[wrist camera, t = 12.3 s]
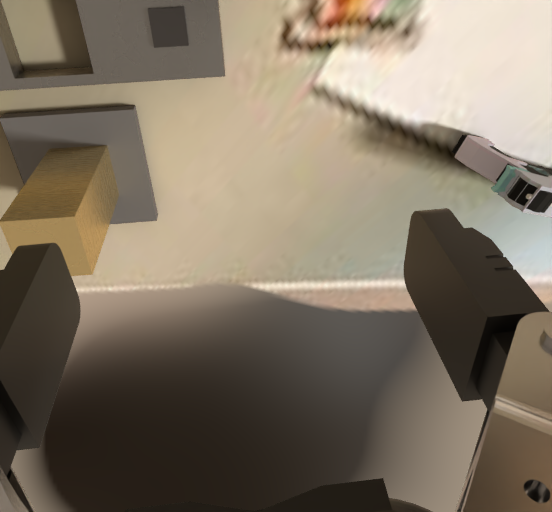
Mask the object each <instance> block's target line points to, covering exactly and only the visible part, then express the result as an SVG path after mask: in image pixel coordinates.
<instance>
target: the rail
mask: <svg viewBox="0 0 552 512" xmlns="http://www.w3.org/2000/svg"><path fill="white" fill-rule="evenodd" d="M76 4H77V8H78V12H79V16H80V20H81V24H82V28H83V32H84V36H85V40H86V44H87V48H88V52H89V56H90V60H91V64H92V67H79V68H63V69H47V70H31V71H24V70H23V67H22V64H21V61H20V58H19V55H18V52H17V49H16V46H15V43H14V40H13V37H12V34H11V31H10V28H9V25H8V22H7V19H6V16H5V13H4V10H3V6H2V3H1V0H0V91H3V90H19V89H34V88H50V87H66V86H81V85H97V84H112V83H128V82H143V81H159V80H174V79H190V78H205V77H221V76H225V65H224V55H223V44H222V33H221V23H220V12H219V2H218V0H76Z"/></svg>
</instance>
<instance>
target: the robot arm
mask: <svg viewBox="0 0 552 512" xmlns="http://www.w3.org/2000/svg"><path fill="white" fill-rule="evenodd" d="M404 279H405V284H406V287H407V290H408V292H409V294H410V296H411V299H412V301H413V303H414V305H415V307H416V309H417V311H418V313H419V315H420V317H421V319H422V321H423V323H424V325H425V327H426V329H427V331H428V333H429V335H430V337H431V338H432V341H433V343H434V345H435V347H436V349H437V351H438V353H439V356H440V357H441V360H442V362H443V364H444V366H445V368H446V370H447V372H448V374H449V376H450V378H451V380H452V382H453V384H454V386H455V388H456V390H457V392H458V394H459V396H460V398H461V400H462V401H470V400H479V399H483V402H484V404H485V405H486V407H487V412H486V415H485V417H484V421H483V424H482V427H481V430H480V433H479V437H478V440H477V443H476V446H475V450H474V453H473V456H472V459H471V462H470V466H469V469H468V472H467V475H466V479H465V482H464V485H463V488H462V492H461V494H460V497H459V500H458V503H457V506H456V510H455V512H552V312H549V310H548V309H547V308H546V307H545V305H544V304H543V303H542V302H541V300H540V299H539V298H538V297H537V295H536V294H535V293H534V292H533V291H532V289H531V288H530V287H529V286H528V284H527V283H526V282H525V281H524V279H523V278H522V277H521V276H520V274H519V273H518V272H517V271H516V270H513V266H512V265H511V263H510V262H509V261H508V260H507V258H506V257H503V253H502V252H501V251H500V250H499V248H498V247H497V246H496V245H495V244H494V242H493V241H492V240H491V239H490V238H488V237H486V236H485V235H483V234H482V233H480V232H478V231H477V230H475V229H474V228H463V226H462V225H461V224H460V222H459V221H458V220H457V218H456V217H455V216H454V214H453V213H452V212H451V211H450V210H449V209H447V208H445V209H434V210H423V211H415V212H414V213H413V214H412V216H411V221H410V227H409V234H408V241H407V247H406V254H405V261H404ZM79 320H80V302H79V297H78V294H77V291H76V288H75V286H74V283H73V280H72V278H71V275H70V272H69V269H68V267H67V264H66V261H65V259H64V256H63V253H62V251H61V249H60V247H59V246H58V245H57V244H56V243H44V244H33V245H22V246H18V247H17V248H16V249H15V251H14V253H13V254H12V256H11V258H10V260H9V261H8V263H7V265H6V267H5V269H4V270H0V512H35V509H34V508H33V506H32V504H31V502H30V500H29V498H28V497H27V495H26V493H25V491H24V489H23V487H22V485H21V483H20V481H19V479H18V477H17V475H16V474H15V472H14V470H13V469H12V468H11V464H12V461H13V458H14V456H15V453H16V450H23V449H32V448H39V447H40V444H41V441H42V438H43V435H44V431H45V428H46V425H47V422H48V419H49V416H50V413H51V410H52V406H53V403H54V400H55V397H56V394H57V390H58V387H59V384H60V381H61V378H62V375H63V372H64V368H65V365H66V362H67V359H68V356H69V352H70V349H71V346H72V343H73V340H74V337H75V334H76V330H77V327H78V324H79ZM125 512H432V511H430V510H428V509H425V508H423V507H420V506H418V505H416V504H413V503H409V502H406V501H402V500H398V499H392V498H389V497H388V494H387V491H386V487H385V483H384V481H383V478H382V479H373V480H366V481H357V482H349V483H340V484H332V485H324V486H320V487H317V488H315V489H312V490H310V491H307V492H305V493H302V494H300V495H298V496H295V497H292V498H290V499H288V500H285V501H283V502H280V503H277V504H275V505H273V506H270V507H268V508H265V509H262V510H257V511H250V510H243V509H237V508H229V507H223V506H216V505H209V504H202V503H195V502H184V503H176V504H168V505H160V506H151V507H143V508H135V509H127V510H125Z"/></svg>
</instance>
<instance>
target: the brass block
mask: <svg viewBox="0 0 552 512" xmlns="http://www.w3.org/2000/svg"><path fill="white" fill-rule="evenodd" d="M118 197H119V192H118V188H117V184H116V180H115V175H114V171H113V167H112V163H111V159H110V155H109V150H108V146H107V145H103V146H86V147H70V148H53V149H49V150H48V151H47V153H46V154H45V156H44V157H43V159H42V160H41V162H40V163H39V164H38V166H37V167H36V169H35V170H34V172H33V173H32V175H31V176H30V178H29V179H28V180H27V182H26V183H25V185H24V186H23V188H22V189H21V191H20V192H19V194H18V195H17V196H16V198H15V199H14V201H13V202H12V204H11V205H10V207H9V208H8V209H7V211H6V212H5V214H4V215H3V217H2V218H1V220H0V226H1V228H2V230H3V233H4V235H5V237H6V240H7V242H8V245H9V247H10V249H11V252H12V254H13V253H14V251H15V249H16V248H17V247H18V246H22V245H33V244H44V243H56V244H57V245H58V246H59V247H60V249H61V251H62V253H63V256H64V259H65V261H66V264H67V267H68V269H69V272H70V275H71V276H78V275H91V274H93V271H94V268H95V265H96V262H97V259H98V256H99V253H100V251H101V248H102V245H103V242H104V239H105V236H106V233H107V230H108V227H109V224H110V221H111V218H112V215H113V212H114V209H115V206H116V203H117V200H118Z"/></svg>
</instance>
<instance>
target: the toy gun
mask: <svg viewBox="0 0 552 512" xmlns="http://www.w3.org/2000/svg"><path fill="white" fill-rule="evenodd" d="M493 146H494V144H493V143H492V142H491V141H489V140H488V139H485V138H481V137H477V136H472V135H462V137H461V138H460V140H459V141H458V143H457V144H456V146H455V148H454V149H453V151H452V152H453V153H455V154H456V155H455V156H454V157H455V158H456V159H457V160H459V161H460V162H462V163H463V164H465V165H466V166H467V167H469V168H471V169H472V170H474V171H476V172H477V173H479V174H481V175H482V176H484V177H486V178H487V179H489V180H491V181H492V182H494V183H496V184H495V186H493V187H491V189H492V190H493V191H494V192H497V193H498V195H500V196H501V197H503V198H504V199H505V200H506V201H507V202H508V203H509V204H511V205H512V206H514V207H516V208H518V209H520V210H521V211H522V212H524V213H530V214H535V215H540V216H546V217H551V218H552V170H550V169H547V168H546V169H545V168H544V167H542V166H534V165H530V164H527V163H525V162H523V161H520V160H516V159H513V158H511V157H509V156H508V155H506V154H504V153H503V152H501V151H499V150H498V149H496V148H495V147H493Z"/></svg>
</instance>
